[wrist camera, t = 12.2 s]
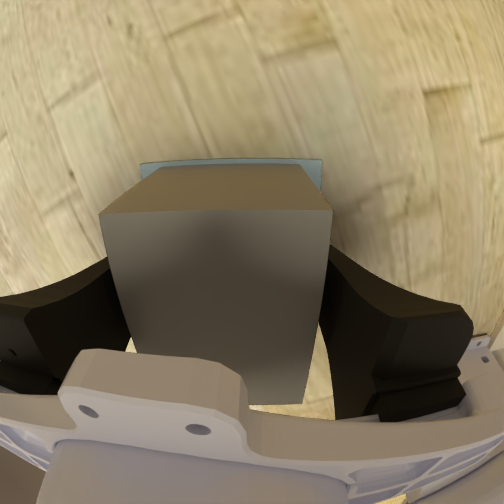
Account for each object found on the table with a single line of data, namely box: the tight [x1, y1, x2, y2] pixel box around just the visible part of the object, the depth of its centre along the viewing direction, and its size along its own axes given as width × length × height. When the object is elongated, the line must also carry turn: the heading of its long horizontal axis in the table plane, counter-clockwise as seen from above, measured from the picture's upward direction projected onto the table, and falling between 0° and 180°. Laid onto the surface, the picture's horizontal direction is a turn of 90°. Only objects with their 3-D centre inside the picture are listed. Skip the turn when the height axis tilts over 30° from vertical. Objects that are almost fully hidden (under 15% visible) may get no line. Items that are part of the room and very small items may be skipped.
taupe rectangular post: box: [98, 163, 333, 405], centre depth 12 cm, size 8×6×6 cm
